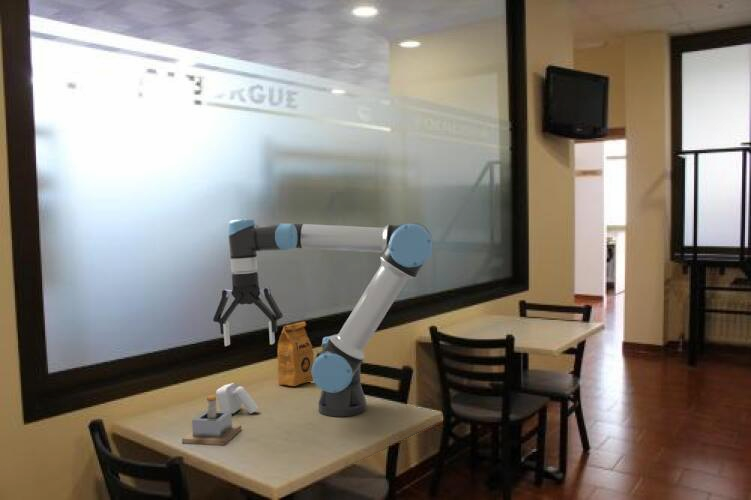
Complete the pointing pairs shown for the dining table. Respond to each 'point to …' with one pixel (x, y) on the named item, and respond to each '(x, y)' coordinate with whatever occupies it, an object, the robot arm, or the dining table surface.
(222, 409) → the wall hook
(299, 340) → the coffee package
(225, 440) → the keeper
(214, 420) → the link
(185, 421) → the dining table surface
